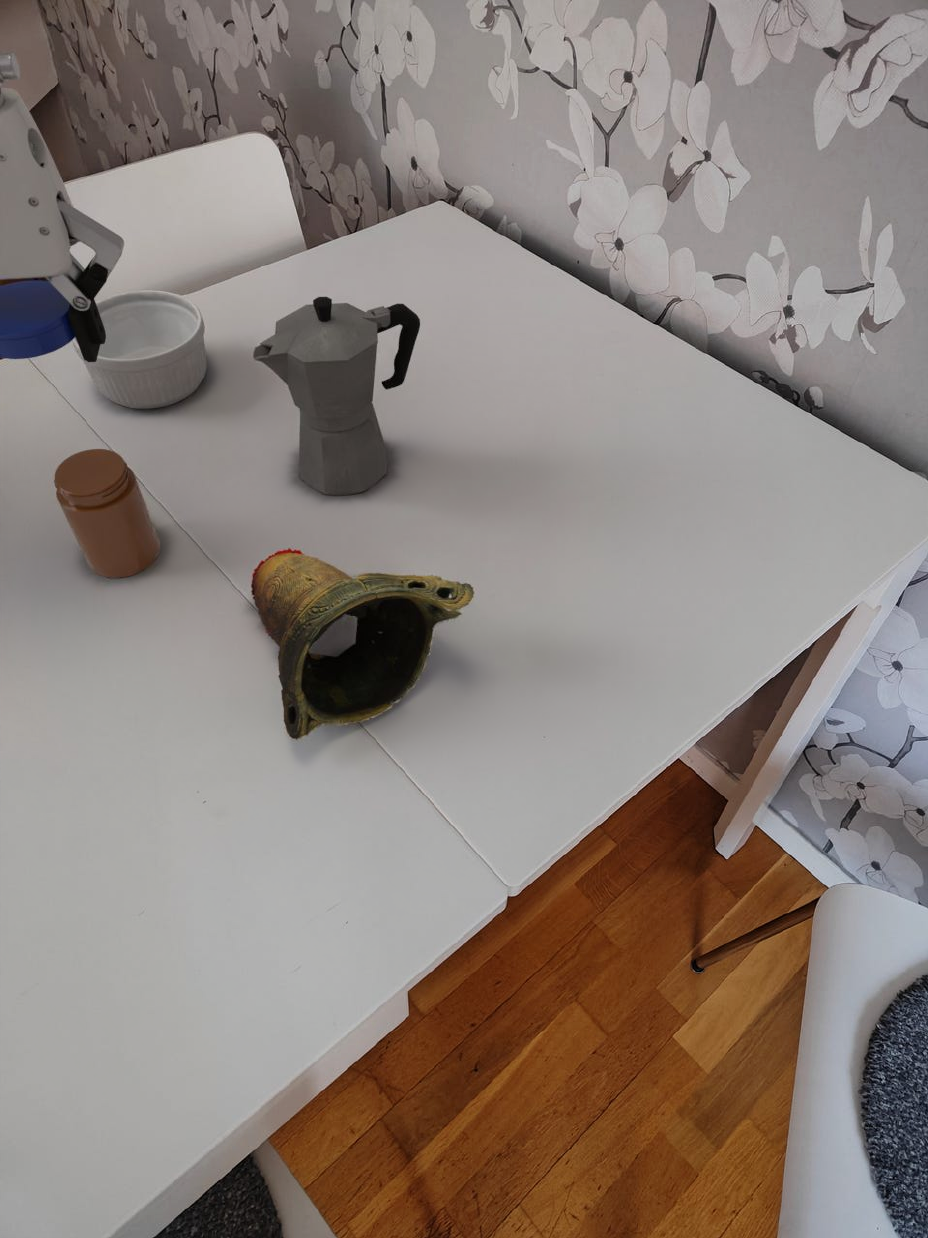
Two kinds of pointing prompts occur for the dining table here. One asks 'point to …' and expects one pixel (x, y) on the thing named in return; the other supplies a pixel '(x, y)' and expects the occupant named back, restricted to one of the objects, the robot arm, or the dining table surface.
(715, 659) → the dining table surface
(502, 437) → the dining table surface
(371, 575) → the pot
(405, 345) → the coffeepot
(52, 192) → the robot arm
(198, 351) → the ramekin
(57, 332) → the lid
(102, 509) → the jar
